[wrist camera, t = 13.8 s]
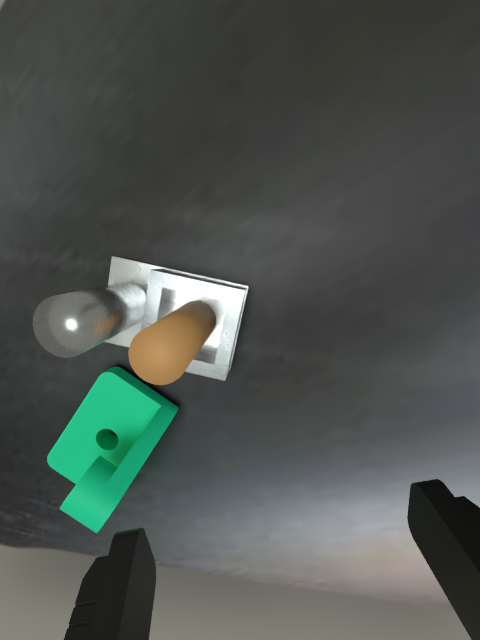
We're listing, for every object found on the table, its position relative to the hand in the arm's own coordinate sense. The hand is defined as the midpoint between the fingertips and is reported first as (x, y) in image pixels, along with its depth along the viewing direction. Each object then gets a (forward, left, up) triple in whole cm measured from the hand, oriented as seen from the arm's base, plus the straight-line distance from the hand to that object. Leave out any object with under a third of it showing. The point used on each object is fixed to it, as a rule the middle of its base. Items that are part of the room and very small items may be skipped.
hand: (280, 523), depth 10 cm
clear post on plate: (-5, -8, -22) cm, 24 cm away
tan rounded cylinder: (-4, -6, -21) cm, 22 cm away
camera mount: (+4, -17, -22) cm, 28 cm away
